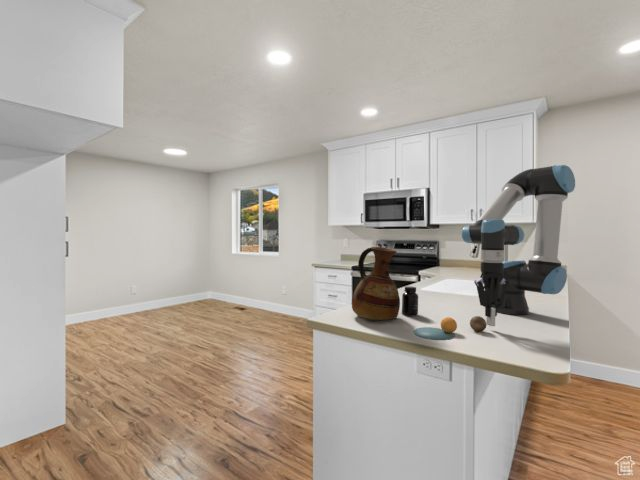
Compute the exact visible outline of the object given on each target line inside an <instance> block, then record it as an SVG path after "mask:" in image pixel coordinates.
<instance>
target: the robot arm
mask: <svg viewBox="0 0 640 480" xmlns="http://www.w3.org/2000/svg"><path fill="white" fill-rule="evenodd" d="M575 188H576V178H575V174H574V171H573V170H572V169H571V168H570V166H568V165H566V164H561V165H560V164H559V165H558V164H557V165H556V164H555V165H550V166H546V167H545V166H544V167H538V168H537V167H536V168H530V169H526V170H523V171H521V172H519V173H518V174H516V175H514V176H513V177H512V178H510V179H509V180H508V181H507V182H506V183H505V184H504V185H503V187H502V188H501V193H499V195H498V196H497V197H496V198H495V199H494V201H492V203H491V204H490V205H489V206H488V208H487V209H486V210H485V211H484V212H483V213H482V215H481V216H480V217H478V219H477V220H476V221H475V223H474V224H473V225H472V224H470V225H465V226H464V227H463V228H462V230H461V238H462V241H463V242H465V243H467V244H473V245H477V244H478V245H479V244H480V245H481V246H480V247H481V249H480V260H481V262H480V272H481V274H480V276H479V279H475V280H474V282H473V283H474V284H475V286H476V289H477V294H478V295H477V296H478V299H479V300H478V301H479V304H480V306H482V307H484V312H485V313H484V315H485V316H484V317H486V326H490V327H496V317H497V316H498V313H500V314H505V315H512V316H521V315H522V316H524V315H528V314H529V313H530V307H529V306H528V302H527V298H526V295H525V294H526V291H527V292H530V293H531V292H533V293H538V294H539V293H540V294H544V295H558V294H559V293H561V292H562V291H563V289H564V287H565V286H566V282H567V278H568V274H567V269H566V268H565V267H563V266H562V261H560V259H559V258H558V254H559V246H560V245H559V244H560V234H561V233H560V232H561V224H562V223H561V222H562V214H563V213H562V212H563V211H562V210H563V202H564V201H566V200H567V199H568V196H569V194H570V193H572V192H573V191H574V190H575ZM528 196H534V199H535V200H536V201H537V210H536V211H537V212H536V222H535V223H536V224H535V233H534V244H533V255H532V257H531V258H529V259H528V262H526V261H525V260H507V261H504V260H505V259H504V258H505V246H516V245H518V244H520V243H521V242H523V241H524V238H525V232H524V230H523V229H522V227H521V226H518V225H515V224H509V225H508V224H506V223H505V220H504V218H505V217H506V215H508V213H509V212H510V211H511V210H512V208H513V207H514V206H516V204H517V203H518V202H521V201H522V200H523V199H524V198H526V197H528ZM505 224H506V225H505Z"/></svg>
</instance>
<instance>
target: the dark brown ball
mask: <svg viewBox="0 0 640 480" xmlns="http://www.w3.org/2000/svg"><path fill="white" fill-rule="evenodd" d="M469 326H470V328H471V329H472V330H473V331H475V332H480V333H482V332H484V331H485V329H486V328H487V320H486V319H485V318H484V317H482V316H478V315H477V316H472V318H471V319H470V320H469Z"/></svg>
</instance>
